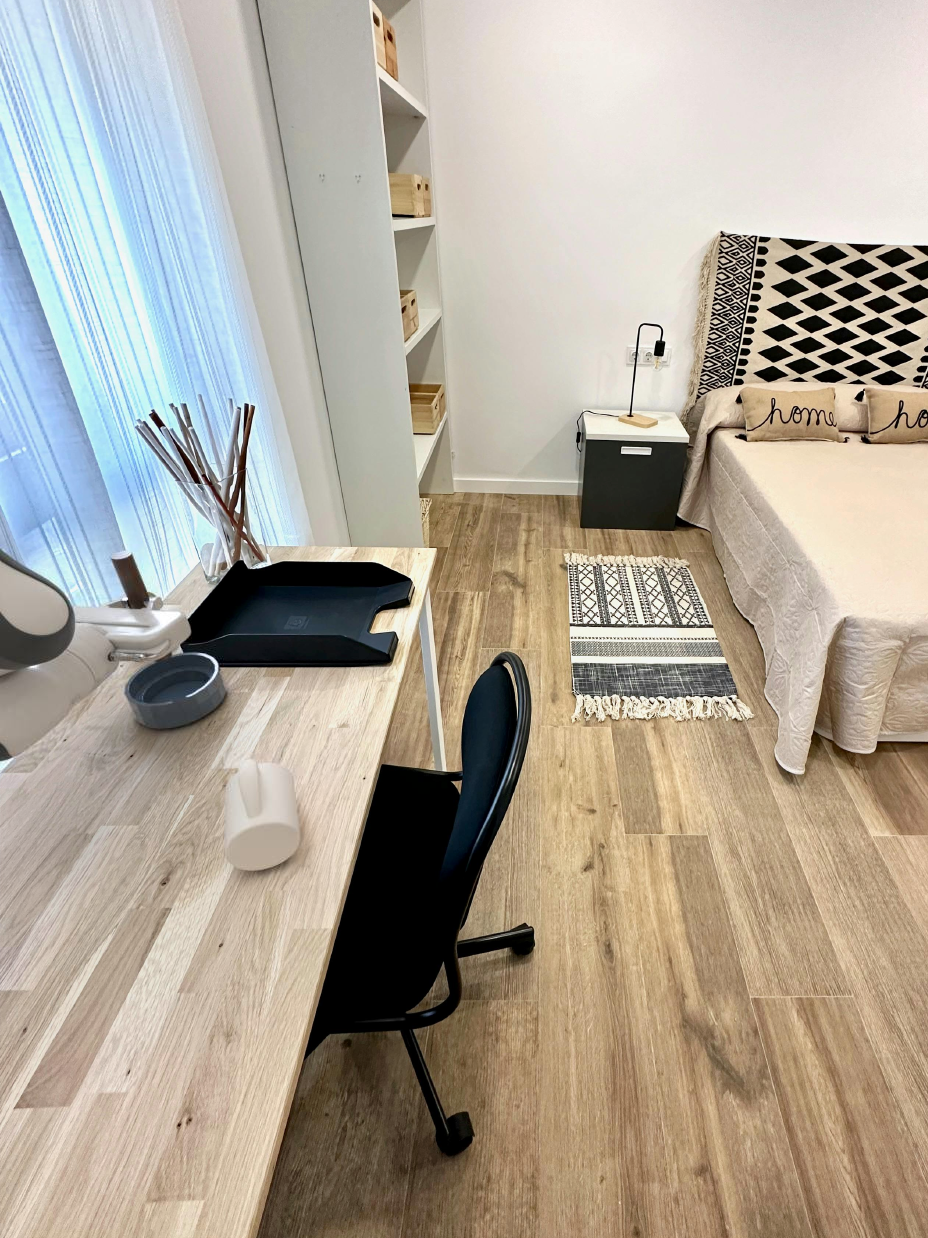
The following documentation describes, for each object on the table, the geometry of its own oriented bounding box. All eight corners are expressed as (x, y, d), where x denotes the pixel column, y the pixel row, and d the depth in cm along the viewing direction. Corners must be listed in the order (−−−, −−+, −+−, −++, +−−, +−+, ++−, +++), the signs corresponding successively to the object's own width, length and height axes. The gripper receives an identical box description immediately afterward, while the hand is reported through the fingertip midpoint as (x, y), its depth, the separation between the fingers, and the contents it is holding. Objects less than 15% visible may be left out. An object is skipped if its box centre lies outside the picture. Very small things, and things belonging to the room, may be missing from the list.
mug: (234, 880, 74) (207, 816, 68) (234, 815, 82) (209, 752, 76) (306, 856, 77) (286, 793, 71) (299, 795, 85) (280, 733, 79)
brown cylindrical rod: (150, 662, 94) (106, 560, 84) (157, 652, 96) (115, 551, 86) (168, 661, 94) (127, 558, 84) (174, 651, 96) (135, 550, 86)
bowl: (121, 735, 94) (108, 709, 91) (156, 680, 105) (145, 655, 102) (212, 728, 96) (203, 702, 93) (237, 674, 107) (228, 649, 104)
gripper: (145, 641, 76) (206, 585, 88) (-11, 633, 77) (70, 578, 89) (161, 680, 80) (218, 620, 91) (12, 671, 81) (87, 613, 92)
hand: (144, 599), depth 90 cm, fingers closed on brown cylindrical rod, 2 cm apart
